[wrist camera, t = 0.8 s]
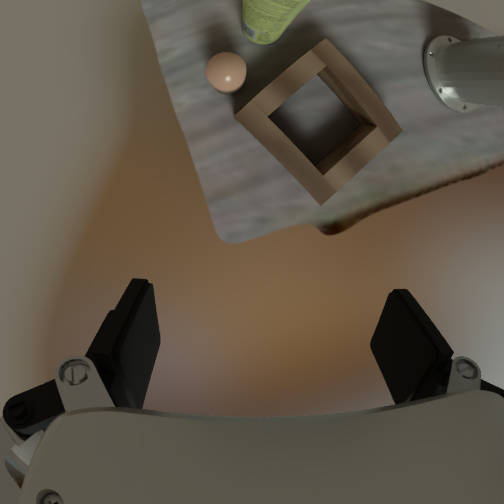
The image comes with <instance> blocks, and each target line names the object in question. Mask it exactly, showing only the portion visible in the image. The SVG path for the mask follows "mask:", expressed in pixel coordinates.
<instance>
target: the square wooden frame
mask: <svg viewBox="0 0 504 504" xmlns="http://www.w3.org/2000/svg"><path fill="white" fill-rule="evenodd" d="M316 74H317V75H318V76H319V77H320V78H321V79H322V80H323V81H324V82H325V83H326V84H327V86H328V87H329V88H330V89H331V90H332V91H333V92H334V93H335V94H336V95H337V97H338V98H339V99H340V100H341V101H342V102H343V104H344V105H345V106H346V107H347V108H348V109H349V111H350V112H351V113H352V114H353V115H354V117H355V118H356V119H357V120H358V122H359V123H360V124H361V125H360V126H359V127H358V128H357V129H356V130H355V131H353V132H352V133H351V134H350V135H349V136H348V137H347V138H346V139H345V140H343V141H342V142H341V143H340V144H339V145H338V146H337V147H336V148H335V149H333V150H332V151H331V152H330V153H329V154H328V155H327V156H326V157H325V158H324V159H322V160H321V161H320V162H319V163H318V164H317V165H316V166H314V165H313V164H312V163H311V162H310V161H309V160H308V159H307V158H306V157H305V155H304V154H303V153H302V152H301V151H300V150H299V149H298V148H297V147H296V146H295V145H294V144H293V143H292V142H291V141H290V140H289V138H288V137H287V136H286V135H285V134H284V133H283V132H282V131H281V130H280V129H279V128H278V127H277V126H276V125H275V124H274V123H273V122H272V121H271V120H270V119H269V118H268V116H269V115H270V114H271V113H272V112H273V111H274V110H276V109H277V108H278V107H279V106H280V105H281V104H282V103H283V102H284V101H286V100H287V99H288V98H289V97H290V96H291V95H292V94H294V93H295V92H296V91H297V90H298V89H299V88H300V87H302V86H303V85H304V84H305V83H306V82H308V81H309V80H310V79H311V78H312V77H314V76H315V75H316ZM234 118H235V119H236V120H237V121H238V122H239V123H240V124H242V125H243V126H244V127H245V128H246V129H247V130H248V131H249V132H250V133H251V134H252V135H253V136H254V137H255V138H256V139H257V140H258V141H259V142H260V143H261V144H262V145H263V146H264V147H265V148H266V149H267V150H268V151H269V152H270V153H271V154H272V155H273V156H274V157H275V158H276V159H277V160H278V161H279V162H280V163H281V164H282V165H283V166H284V167H285V168H286V169H287V170H288V171H289V172H290V173H291V174H292V175H293V176H294V177H295V178H296V179H297V181H298V182H299V183H300V184H301V185H302V186H303V187H304V188H305V189H306V190H307V191H308V192H309V193H310V195H311V196H312V197H313V198H314V199H315V200H316V201H317V202H318V203H319V204H320V206H321V205H322V204H323V203H325V202H326V201H327V200H328V199H329V198H330V197H331V196H332V195H333V194H334V193H336V192H337V191H338V190H339V189H340V188H341V187H342V186H343V185H344V184H345V183H347V182H348V181H349V180H350V179H351V178H352V177H353V176H354V175H355V174H356V173H357V172H359V171H360V170H361V169H362V168H363V167H364V166H365V165H366V164H367V163H368V162H369V161H371V160H372V159H373V158H374V157H375V156H376V155H377V154H378V153H379V152H380V151H381V150H382V149H384V148H385V147H386V146H387V145H388V144H389V143H390V142H391V141H392V140H393V139H394V138H395V137H396V136H398V135H399V134H400V133H401V132H402V131H403V130H402V129H401V127H400V126H399V125H398V123H397V122H396V120H395V119H394V117H393V116H392V115H391V113H390V112H389V111H388V109H387V108H386V107H385V105H384V104H383V103H382V101H381V100H380V99H379V97H378V96H377V95H376V94H375V92H374V91H373V90H372V89H371V87H370V86H369V85H368V84H367V82H366V81H365V80H364V79H363V78H362V76H361V75H360V74H359V73H358V72H357V71H356V69H355V68H354V67H353V66H352V65H351V64H350V63H349V62H348V60H347V59H346V58H345V57H344V56H343V55H342V54H341V53H340V52H339V51H338V50H337V49H336V48H335V47H334V46H333V45H332V43H331V42H330V41H329V40H328V39H327V38H325V39H324V40H323V41H321V42H320V43H319V44H317V45H316V46H315V47H313V48H312V49H311V50H309V51H308V52H307V53H306V54H304V55H303V56H302V57H301V58H299V59H298V60H297V61H296V62H295V63H293V64H292V65H291V66H290V67H288V68H287V69H286V70H285V71H284V72H283V73H281V74H280V75H279V76H278V77H277V78H275V79H274V80H273V81H272V82H271V83H270V84H269V85H267V86H266V87H265V88H264V89H263V90H262V91H261V92H260V93H259V94H257V95H256V96H255V97H254V98H253V99H252V100H251V101H250V102H249V103H248V104H247V105H245V106H244V107H243V108H242V109H241V110H240V111H239V112H238V113H237V114H236V115H235V116H234Z"/></svg>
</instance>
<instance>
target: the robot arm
mask: <svg viewBox="0 0 504 504" xmlns="http://www.w3.org/2000/svg"><path fill="white" fill-rule="evenodd" d="M424 68H425V73H426V76H427V80H428V82H429V84H430V87H431V89H432V90H433V92H434V94H435V95H436V96H437V98H438V99H439V100H440V101H441V102H442V103H443V104H444V105H445V106H446V107H448V108H449V109H451V110H453V111H456V112H463V113H467V112H470V111H472V110H474V109H475V108H476V107H477V106H478V105H479V104H484V105H493V106H502V107H504V36H495V37H487V38H480V39H474V40H468V41H462V42H461V41H460V40H458V39H457V38H455V37H452V36H448V35H442V36H438V37H435V38H433V39H432V40H431V41H430V42H429V43H428V45H427V47H426V49H425V53H424ZM159 346H160V332H159V325H158V318H157V312H156V304H155V297H154V289H153V285H152V284H151V283H149V282H148V280H147V279H137V278H133V279H132V280H131V282H130V284H129V285H128V287H127V289H126V290H125V292H124V294H123V295H122V297H121V299H120V301H119V302H118V304H117V306H116V308H115V310H110V311H109V313H108V314H107V316H106V318H105V320H104V321H103V323H102V325H101V327H100V329H99V331H98V332H97V334H96V336H95V338H94V340H93V342H92V344H91V345H90V347H89V349H88V351H87V353H86V355H85V357H84V356H71V357H68V358H65V359H63V360H62V361H61V362H60V363H59V364H58V365H57V367H56V369H55V373H54V376H55V379H54V380H51V381H49V382H47V383H44V384H42V385H39V386H37V387H35V388H33V389H30V390H28V391H25V392H23V393H20V394H18V395H15V396H13V397H12V398H10V399H9V400H8V401H7V402H6V404H5V406H4V409H3V416H2V417H1V418H0V504H504V390H503V389H501V388H499V387H496V386H494V385H492V384H490V383H488V382H486V381H484V380H482V379H481V371H480V368H479V366H478V365H477V364H476V363H475V362H474V361H473V360H471V359H470V358H467V357H462V356H459V357H456V358H455V359H454V360H452V359H451V357H452V355H453V353H454V352H453V350H452V349H451V347H450V346H449V344H448V343H447V342H446V340H445V339H444V337H443V336H442V335H441V333H440V332H439V330H438V329H437V328H436V326H435V325H434V323H433V322H432V321H431V319H430V318H429V317H428V315H427V314H426V313H425V311H424V310H423V309H422V307H421V306H420V305H419V304H418V302H417V301H416V300H415V298H414V297H413V296H412V295H411V293H410V292H409V291H408V290H407V289H394V290H393V291H392V292H391V293H389V295H388V297H387V300H386V303H385V306H384V308H383V311H382V314H381V316H380V319H379V322H378V324H377V327H376V329H375V332H374V334H373V337H372V339H371V343H370V347H371V350H372V353H373V355H374V357H375V359H376V361H377V364H378V366H379V368H380V370H381V372H382V375H383V377H384V379H385V381H386V384H387V386H388V388H389V391H390V393H391V395H392V398H393V400H394V402H395V405H390V406H384V407H379V408H372V409H365V410H358V411H350V412H342V413H333V414H321V415H308V416H289V417H228V416H227V417H226V416H209V415H195V414H182V413H172V412H163V411H155V410H145V409H142V407H143V403H144V399H145V395H146V392H147V388H148V385H149V381H150V378H151V374H152V370H153V367H154V363H155V360H156V357H157V353H158V350H159Z"/></svg>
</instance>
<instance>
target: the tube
mask: <svg viewBox="0 0 504 504" xmlns="http://www.w3.org/2000/svg"><path fill="white" fill-rule="evenodd" d="M310 1H311V0H242V8H243V12H242V30H243V33H244V35H245V36H246V37H247V38H248V39H249V40H250V41H252V42H254V43H257V44H270V43H273V42H275V41H276V40H277V39H278V38H279V37H280V36H281V35H282V33H283V32H284V30H285V29H286V28H287V27H288V25H289V24H290V23H291V22H292V20H293V19H294V18H295V17H296V16H297V14H298V13H299V12H300V11H301V10H302V9H303V8H304V7H305V6H306V5H307V4H308V3H309V2H310Z"/></svg>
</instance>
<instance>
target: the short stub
mask: <svg viewBox="0 0 504 504" xmlns="http://www.w3.org/2000/svg"><path fill="white" fill-rule="evenodd" d="M206 76H207V79H208V80H209V82H210V83H211V84H212V86H213V87H214V88H215V89H216V90H217V91H218V92H219V93H222V94H225V95H231V94H235V93H237V92H238V91H240V90H241V89H242V87H243V86H244V83H245V78H246V64H245V62H244V60H243V59H242V58H241V57H240V56H239V55H237V54H235V53H231V52H222V53H219V54H216V55H215V56H213V57H212V58H211V59H210V60H209V61H208V63H207V65H206Z"/></svg>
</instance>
